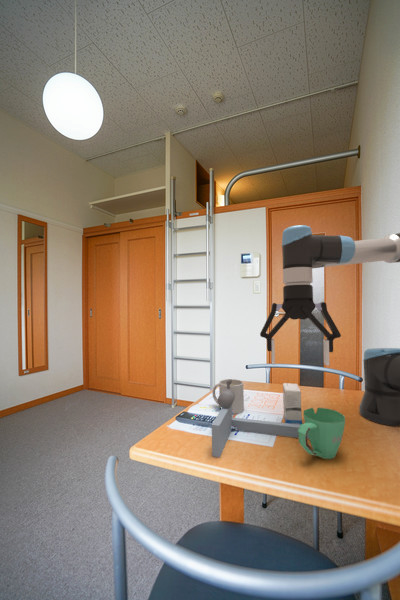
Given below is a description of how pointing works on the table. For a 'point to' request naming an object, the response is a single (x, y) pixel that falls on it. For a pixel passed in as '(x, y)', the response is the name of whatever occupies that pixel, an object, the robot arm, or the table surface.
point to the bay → (242, 424)
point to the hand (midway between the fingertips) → (299, 364)
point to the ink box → (292, 404)
